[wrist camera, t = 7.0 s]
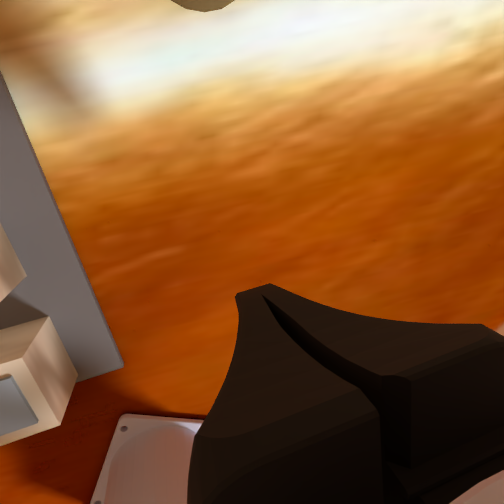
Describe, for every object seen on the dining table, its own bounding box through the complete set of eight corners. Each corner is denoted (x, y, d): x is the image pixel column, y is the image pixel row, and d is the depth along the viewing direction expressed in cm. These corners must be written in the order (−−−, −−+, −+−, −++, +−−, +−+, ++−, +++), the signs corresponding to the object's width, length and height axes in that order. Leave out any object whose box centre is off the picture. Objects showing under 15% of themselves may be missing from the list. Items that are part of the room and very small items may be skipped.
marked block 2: (78, 374, 20) (59, 428, 16) (1, 399, 19) (-38, 462, 15) (48, 316, 18) (20, 360, 15) (-37, 340, 18) (-91, 394, 14)
